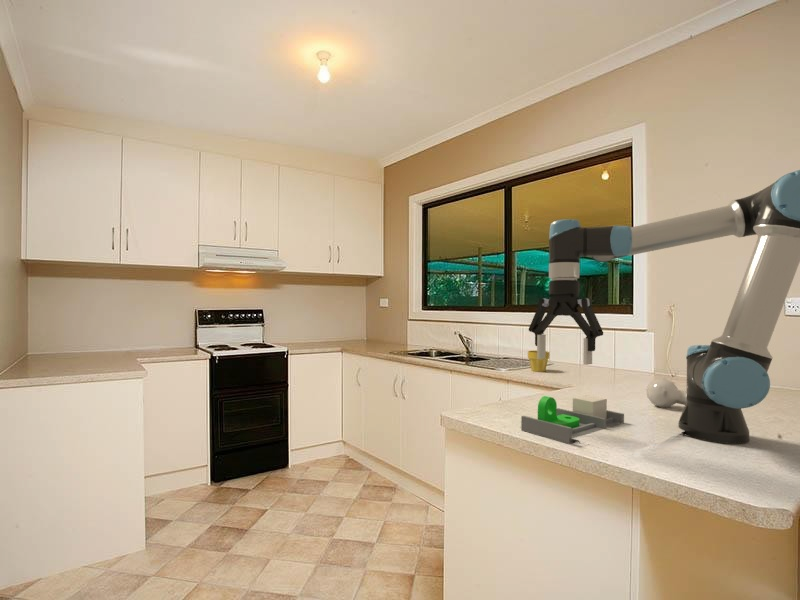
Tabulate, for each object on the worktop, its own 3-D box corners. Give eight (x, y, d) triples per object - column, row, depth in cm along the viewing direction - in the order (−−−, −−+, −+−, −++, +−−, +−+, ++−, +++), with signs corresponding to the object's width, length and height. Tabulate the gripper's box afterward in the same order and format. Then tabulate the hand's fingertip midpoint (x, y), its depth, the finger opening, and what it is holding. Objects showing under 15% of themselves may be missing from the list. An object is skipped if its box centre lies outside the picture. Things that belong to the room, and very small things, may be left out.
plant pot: (527, 371, 223) (527, 351, 223) (527, 369, 233) (527, 349, 233) (549, 373, 220) (549, 352, 220) (548, 370, 230) (549, 350, 230)
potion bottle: (643, 408, 154) (696, 420, 146) (643, 395, 147) (698, 407, 139) (648, 384, 158) (699, 394, 150) (648, 370, 151) (702, 380, 143)
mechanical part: (558, 434, 112) (559, 401, 112) (537, 428, 117) (537, 397, 117) (583, 426, 120) (584, 395, 120) (563, 421, 125) (563, 392, 125)
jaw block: (606, 420, 126) (606, 398, 126) (592, 424, 122) (593, 401, 122) (586, 416, 131) (586, 395, 131) (572, 419, 127) (572, 398, 127)
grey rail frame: (623, 427, 124) (624, 413, 124) (569, 444, 108) (569, 428, 108) (576, 416, 135) (577, 404, 135) (521, 430, 119) (521, 416, 120)
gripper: (618, 278, 111) (617, 365, 111) (533, 281, 131) (532, 355, 131) (602, 277, 107) (601, 368, 106) (516, 280, 126) (515, 357, 126)
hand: (563, 361), depth 119 cm, fingers open, 13 cm apart
